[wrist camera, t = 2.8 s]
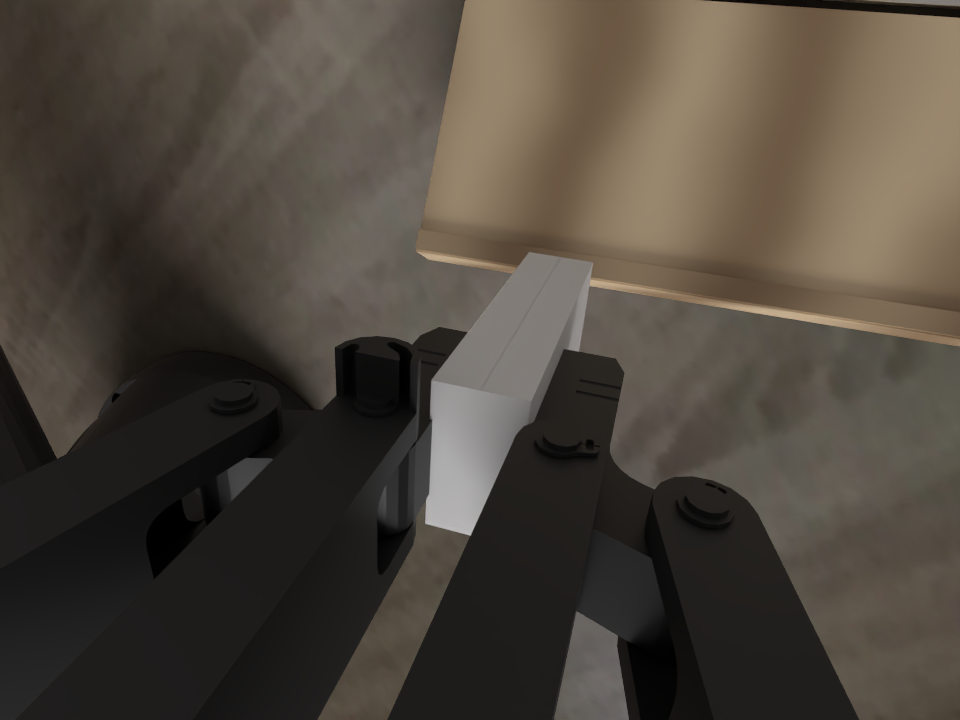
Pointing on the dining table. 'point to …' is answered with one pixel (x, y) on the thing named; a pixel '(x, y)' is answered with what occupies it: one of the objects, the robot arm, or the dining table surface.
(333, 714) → the dining table surface
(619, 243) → the plank
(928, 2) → the laid board
